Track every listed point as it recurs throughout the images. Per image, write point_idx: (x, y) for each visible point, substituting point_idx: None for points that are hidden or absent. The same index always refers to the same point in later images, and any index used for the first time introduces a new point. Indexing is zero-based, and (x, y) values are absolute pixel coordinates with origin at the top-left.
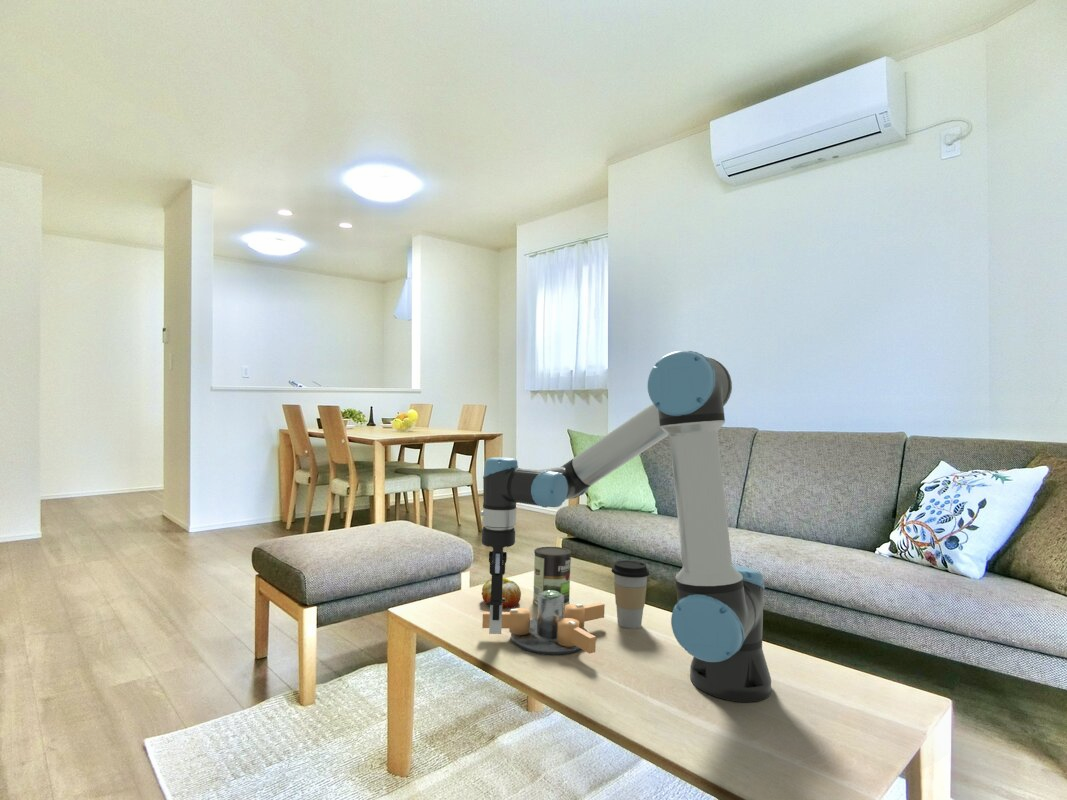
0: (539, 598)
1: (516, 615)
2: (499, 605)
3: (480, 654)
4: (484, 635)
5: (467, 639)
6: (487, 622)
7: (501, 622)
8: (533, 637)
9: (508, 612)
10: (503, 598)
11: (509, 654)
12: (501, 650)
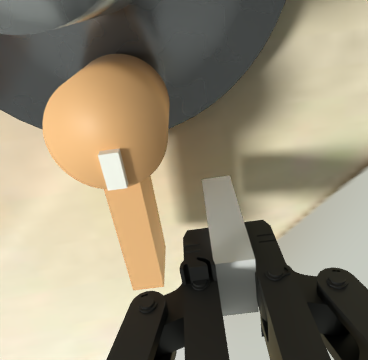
0: (85, 12)
1: (165, 147)
2: (255, 267)
3: (285, 205)
4: None
5: (173, 259)
6: (162, 245)
7: (237, 201)
8: (172, 27)
9: (111, 191)
10: (196, 274)
11: (282, 113)
12: (248, 146)
